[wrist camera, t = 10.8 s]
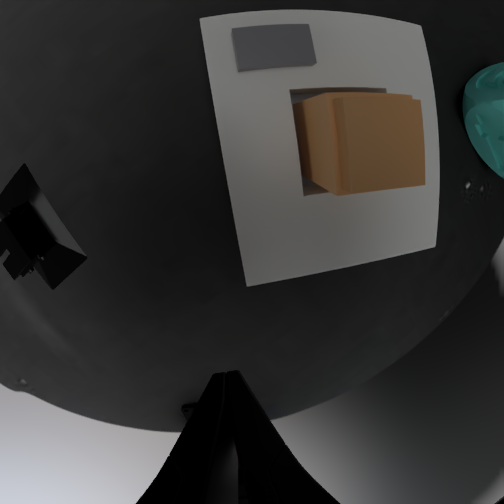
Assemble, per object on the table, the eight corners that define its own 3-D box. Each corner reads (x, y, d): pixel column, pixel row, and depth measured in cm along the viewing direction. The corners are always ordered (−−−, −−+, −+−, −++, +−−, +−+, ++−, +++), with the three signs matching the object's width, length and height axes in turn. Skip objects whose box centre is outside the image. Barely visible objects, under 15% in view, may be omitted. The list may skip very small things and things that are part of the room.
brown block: (365, 167, 18) (429, 190, 11) (302, 175, 18) (345, 201, 11) (359, 101, 16) (424, 94, 9) (292, 104, 16) (333, 89, 9)
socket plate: (413, 232, 21) (441, 251, 17) (243, 264, 20) (248, 293, 17) (398, 34, 14) (427, 23, 11) (203, 35, 14) (198, 13, 10)
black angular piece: (-14, 196, 16) (-46, 212, 12) (27, 138, 15) (-10, 145, 11) (62, 304, 21) (40, 335, 17) (112, 264, 20) (91, 296, 16)
